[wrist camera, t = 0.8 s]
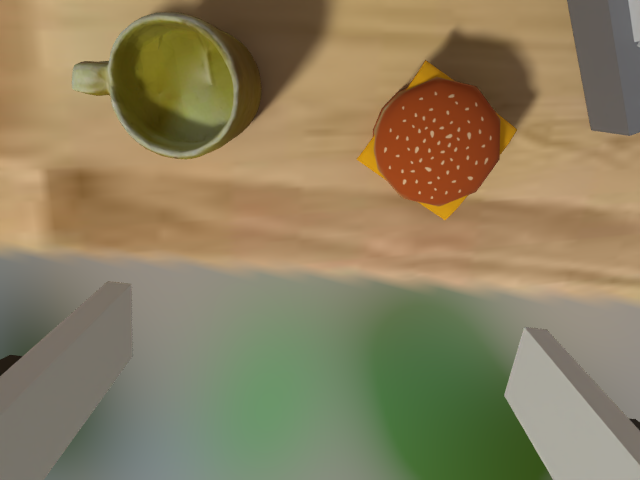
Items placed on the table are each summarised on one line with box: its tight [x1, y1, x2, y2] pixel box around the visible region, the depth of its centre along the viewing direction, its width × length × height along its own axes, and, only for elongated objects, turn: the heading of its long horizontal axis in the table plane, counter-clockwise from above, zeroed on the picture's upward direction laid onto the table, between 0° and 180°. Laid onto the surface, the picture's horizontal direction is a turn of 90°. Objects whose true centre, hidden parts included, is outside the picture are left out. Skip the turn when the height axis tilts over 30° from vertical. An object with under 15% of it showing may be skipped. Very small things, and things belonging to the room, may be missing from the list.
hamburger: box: [357, 60, 517, 220], centre depth 35 cm, size 9×10×7 cm
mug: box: [72, 12, 261, 159], centre depth 33 cm, size 12×10×10 cm
